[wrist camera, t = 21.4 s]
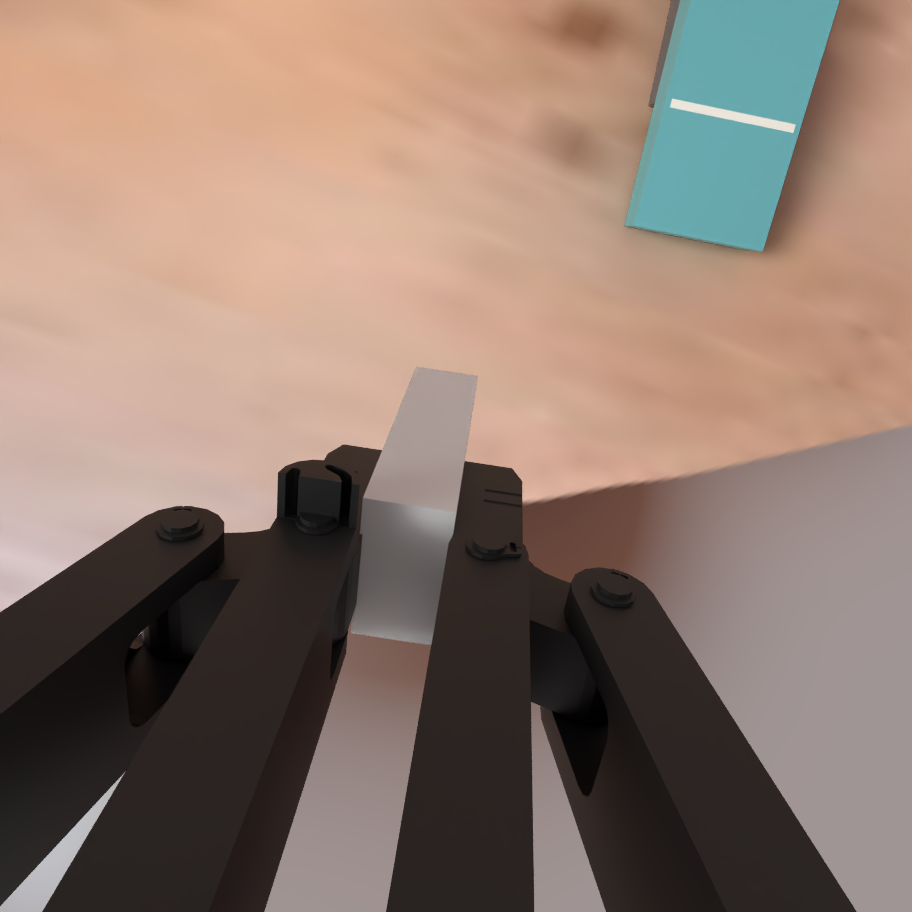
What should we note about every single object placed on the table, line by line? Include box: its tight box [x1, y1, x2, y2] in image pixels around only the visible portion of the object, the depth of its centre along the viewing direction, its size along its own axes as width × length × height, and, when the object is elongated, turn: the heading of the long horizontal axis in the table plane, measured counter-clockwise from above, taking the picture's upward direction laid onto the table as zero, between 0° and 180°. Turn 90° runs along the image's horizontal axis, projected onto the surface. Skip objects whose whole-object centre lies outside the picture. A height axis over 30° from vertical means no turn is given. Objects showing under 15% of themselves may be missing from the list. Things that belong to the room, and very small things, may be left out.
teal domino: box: [624, 0, 840, 252], centre depth 37 cm, size 2×7×12 cm
